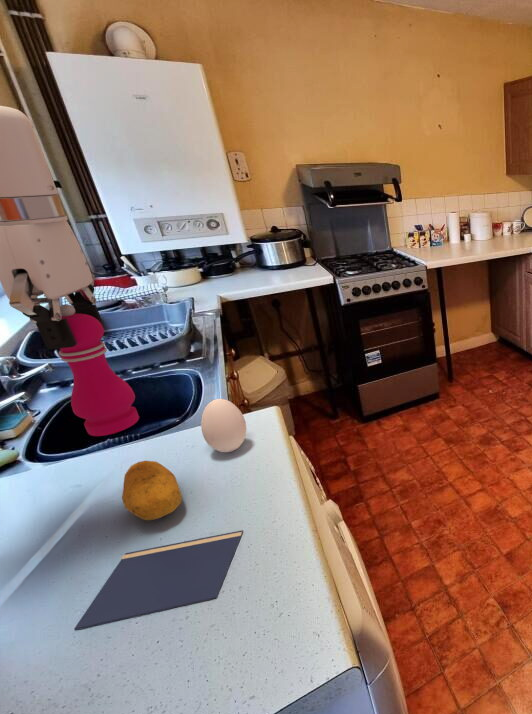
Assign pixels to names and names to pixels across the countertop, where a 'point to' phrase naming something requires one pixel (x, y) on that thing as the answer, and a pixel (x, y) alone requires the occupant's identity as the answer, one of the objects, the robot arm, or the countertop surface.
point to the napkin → (163, 579)
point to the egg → (223, 425)
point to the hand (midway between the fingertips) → (77, 337)
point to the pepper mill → (96, 379)
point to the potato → (150, 490)
